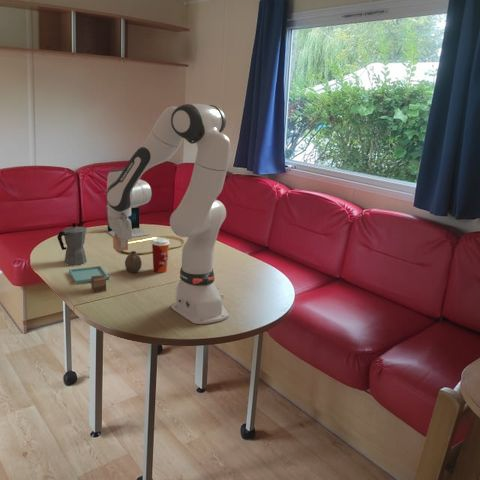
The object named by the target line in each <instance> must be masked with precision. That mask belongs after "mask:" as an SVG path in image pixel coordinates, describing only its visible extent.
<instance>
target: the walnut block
mask: <svg viewBox="0 0 480 480" xmlns="http://www.w3.org/2000/svg"><path fill="white" fill-rule="evenodd" d="M90 284H91V290H92V291H93V293H100V292H101V293H102V292H107V280H106V278H105V277H104V276H103V275H99V276H91V282H90Z"/></svg>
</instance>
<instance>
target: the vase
mask: <svg viewBox="0 0 480 480" xmlns="http://www.w3.org/2000/svg"><path fill="white" fill-rule="evenodd" d="M129 252H130V254H127V257H126V258H125V261H124V266H125V270H126V271H127V272H128V273H130V274H131V273H132V274H136V273H138V272H139V271H140V270H141V268H142V266H143V265H142V259H141V257H140V255H138V254H137V253H138V252H137V251H134V250H131V251H129Z"/></svg>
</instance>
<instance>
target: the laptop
mask: <svg viewBox="0 0 480 480" xmlns="http://www.w3.org/2000/svg"><path fill="white" fill-rule="evenodd" d="M140 207H141V206H137V207H133V208H131V216H128V219H129V220H130V221H131V226H132V238H136V237H144V236H146V237H147V236H149V233H147V232H146V231H144V230H142V229H141V228H140V216H141V214H140V212H141V211H140V209H141V208H140ZM106 213H107V218H108V212H107V211H106ZM107 234H108V235H110V236H111V237H113V236H115V234H114V231H113V230H112V229H111V228H110V227H109V223H108V222H107Z"/></svg>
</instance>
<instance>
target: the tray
mask: <svg viewBox="0 0 480 480" xmlns="http://www.w3.org/2000/svg"><path fill="white" fill-rule="evenodd" d="M68 272H69V275H70V274H71V275H70V277H71V276H72V277H71V278H73V279H72V281H74V284H75V283H76V284H75V285H80V284H79V283H82V284H89V282H90V283H91V276H99V275H103V276H104V277H105V278H106V281H109V280H110V276H109V275H108V273H107V272H106V270H105V269H104V268H103V266H102V265H96V266H90V267H88V266H86V267H78V268H70V269H68Z"/></svg>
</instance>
